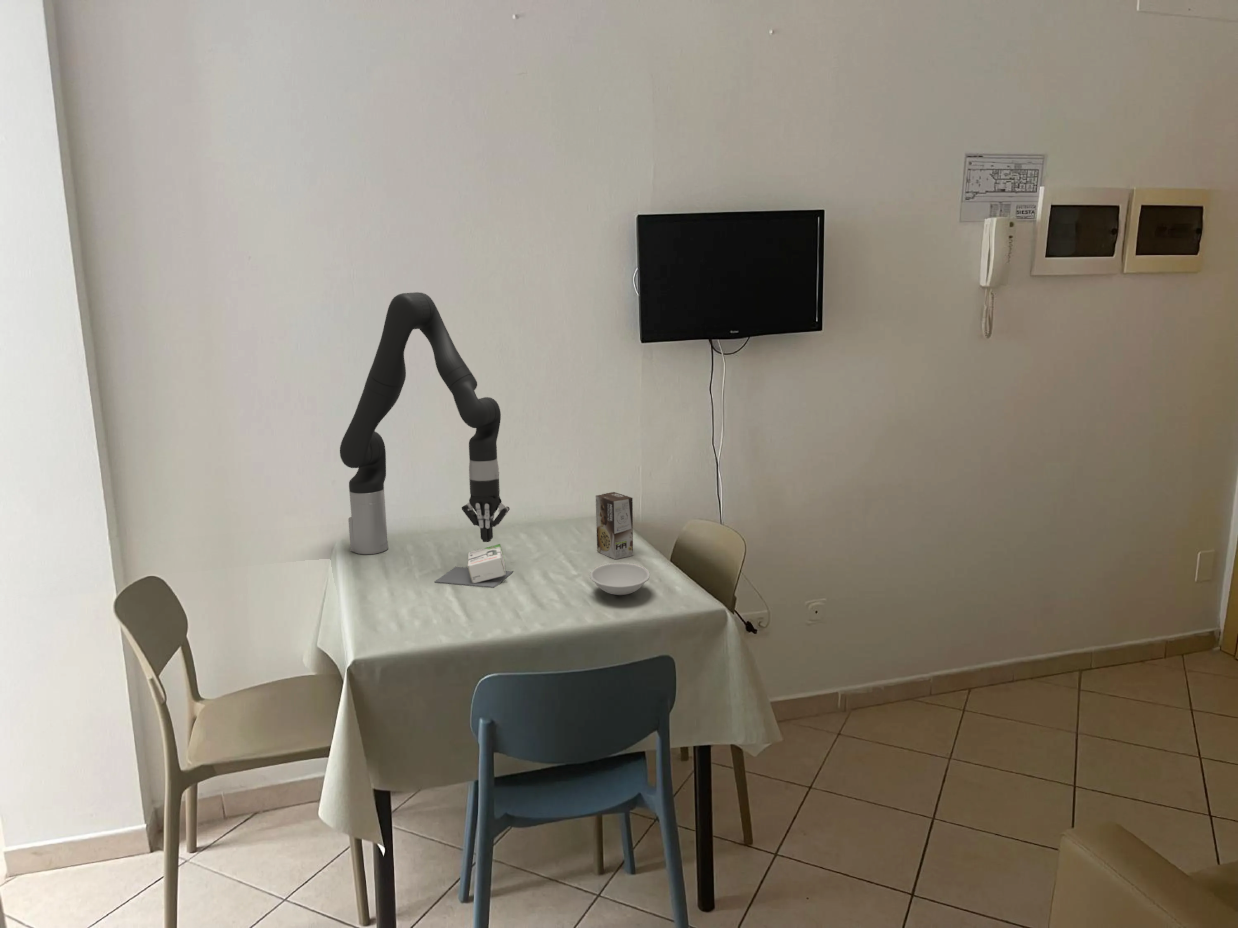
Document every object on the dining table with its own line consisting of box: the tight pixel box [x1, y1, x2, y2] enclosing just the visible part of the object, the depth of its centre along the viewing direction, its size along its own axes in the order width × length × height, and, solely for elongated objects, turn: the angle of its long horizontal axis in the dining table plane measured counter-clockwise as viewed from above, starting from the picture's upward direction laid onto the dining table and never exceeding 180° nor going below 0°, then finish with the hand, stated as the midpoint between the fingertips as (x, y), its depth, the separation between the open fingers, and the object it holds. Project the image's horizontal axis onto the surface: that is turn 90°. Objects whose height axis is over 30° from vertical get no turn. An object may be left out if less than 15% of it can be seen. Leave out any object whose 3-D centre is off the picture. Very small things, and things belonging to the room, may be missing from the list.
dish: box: [588, 562, 651, 596], centre depth 219 cm, size 18×14×5 cm
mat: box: [434, 566, 513, 589], centre depth 232 cm, size 16×12×1 cm
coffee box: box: [595, 491, 634, 560], centre depth 248 cm, size 9×6×16 cm
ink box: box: [467, 543, 506, 583], centre depth 232 cm, size 9×5×12 cm
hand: (487, 541), depth 239 cm, fingers closed
